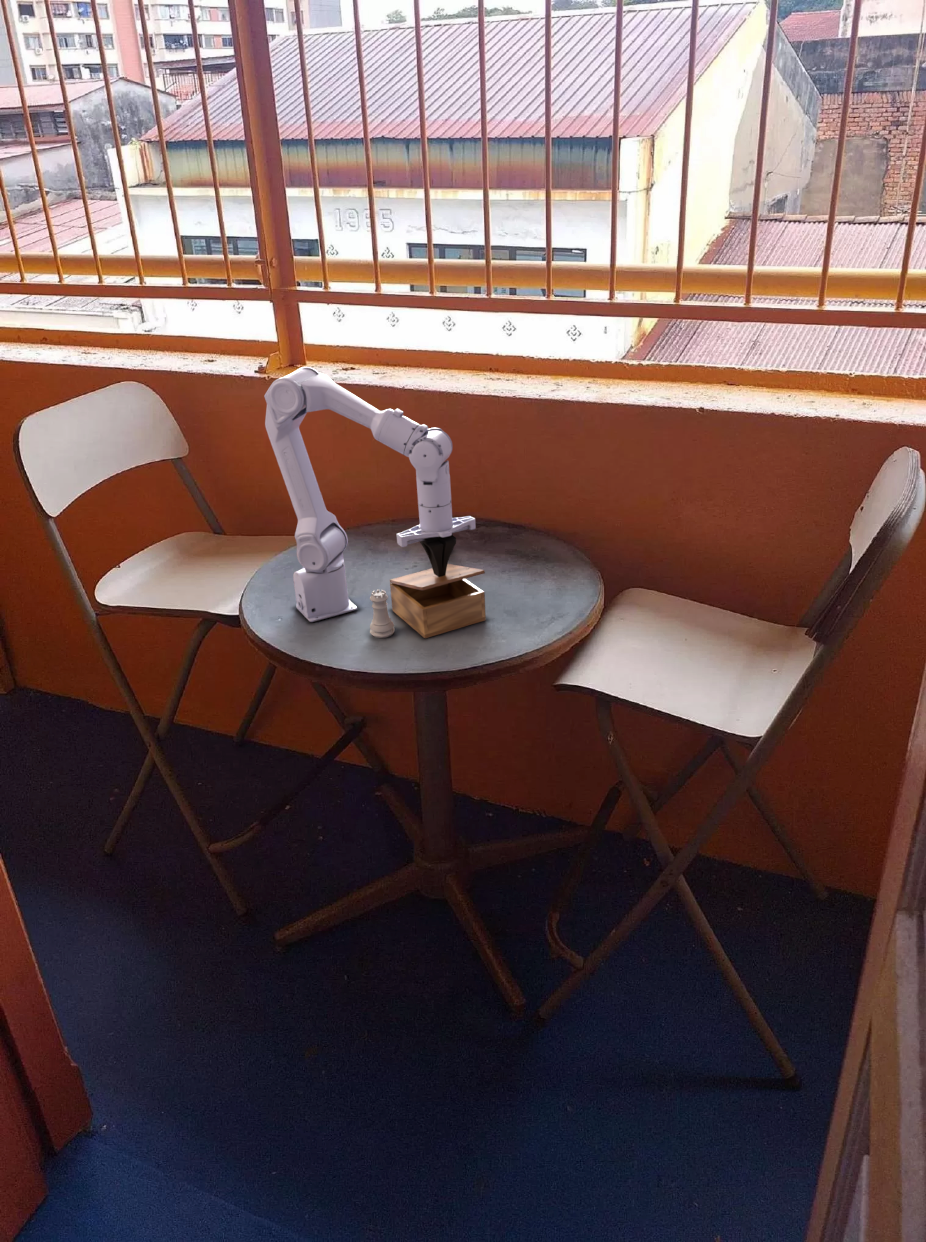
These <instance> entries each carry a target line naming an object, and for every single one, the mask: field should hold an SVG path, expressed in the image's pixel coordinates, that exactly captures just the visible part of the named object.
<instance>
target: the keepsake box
mask: <svg viewBox="0 0 926 1242" xmlns="http://www.w3.org/2000/svg"><path fill="white" fill-rule="evenodd" d="M389 589H390V598H391V610H392V612H393V613H395V615H397V616H398V617H399V618H400V619H402V620H403V621H404V622H405V623H406V624H407V625H409V626H410V627H411V628H412V630H415V631H416V632H417V634H419V635H420V636H421V637H422V638H424V639H428V638H432V637H435V636H438V635H442V634H445V633H448V632H452V631H454V630H458V629H462V628H465V627H468V626H471V625H474V624H478V623H481V622H485V621H486V620H487V619H486V597H485V591H484V590H483V589H481V588H480V587H478V586H477V585H475V584H474V583H473V582H471V581H470V580H468V578H466V579H462V580H459V581H455V582H452V583H448V584H444V585H441V586H437V587H434V588H430V589H426V590H423V591H422V590H418V589H414V588H410V587H406V586H402V585H397V584H393V583H390V582H389Z"/></svg>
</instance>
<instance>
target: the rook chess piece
mask: <svg viewBox="0 0 926 1242" xmlns="http://www.w3.org/2000/svg"><path fill="white" fill-rule="evenodd" d="M388 599H389V595H388V594H387V592H386V590H384V589H381V591H380V589H376V590H373V591H371V594H370V597H369V600H370V601H371V602H372V604H371V607H372V609H373V614H372V615H373V616H372V620H371V623H370V624H369V629H370V630H369V634H370V635H371V636H372V637H374V638H377V639H384V638H385V639H386V638H389V637H391V636H392V635H393V634H394V633H395V631H396V630H395V623H394V622H393V621H392V619H391V617H390V616H389V612H388V606H389V604H388V602H387V600H388Z"/></svg>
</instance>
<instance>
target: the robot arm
mask: <svg viewBox="0 0 926 1242" xmlns="http://www.w3.org/2000/svg"><path fill="white" fill-rule="evenodd" d="M264 399H265V402H266V410H265V420H264V427H265V430H266V432H267V436H268V439H269V442H270V445H271V447H272V450H273V453H274V456H275V458H276V462H277V465H278V467H279V470H280V473H281V475H282V479H283V482H284V484H285V487H286V490H287V493H288V496H289V498H290V501H291V504H292V507H293V510H294V513H295V515H296V519H297V525H296V529H295V532H294V539H295V542H296V558H297V561H298V562H299V564H300V566H301V567H302V568H301V569H299V570H296V571H294V572H293V576H292V581H293V587H294V594H295V601H296V605H295V607H296V609H297V611H299V613H301V614H302V616H304V618H306V620H308V622H310V623H314V622H318V621H321V620H324V619H328V618H332V617H336V616H339V615H343V614H346V613H350V612H354V611H356V610H358V607H357V605H356V604H354V602H352V601H351V600H350V598H349V591H348V582H347V581H348V580H347V574H346V567H345V566H346V565H345V564H346V563H345V559H344V558H345V557H344V551H345V550H346V549H347V547H348V544H349V539H348V534H347V532H346V531H345V530H344V528H343V527H342V526H341V525H340V523H339V521H338V518H337V516H336V515H335V514H333V513H332V512H331V511H328V510H327V507H326V504H325V501H324V499H323V494H322V492H321V490H320V486H319V483H318V481H317V477H316V474H315V472H314V469H313V466H312V463H311V460H310V456H309V454H308V450H307V447H306V445H305V442H304V439H303V435H302V433H301V430H300V426H301V424H302V422H303V420H304V419H305V417H306V415H307V414H308V413H312V412H319V411H324V410H330V411H332V412H334V413H336V414H337V415H340V416H343V417H345V418H347V419H349V420H351V421H353V422H355V423H357V424H360V425H361V426H364V427H366V428H368V429H369V430H370V431H371V434H372V436H373V439H374V440H376V441H377V442H379V443H381V444H383V445H384V446H387V447H388V448H390V449H392V450H394V451H395V452H397V453H399V454H401V455H403V456H405V457H406V458H408V459H409V462H410V464H411V466H413V468H414V469H415V476H416V477H415V480H416V489H417V490H416V493H417V494H416V495H417V505H418V506H417V507H418V508H417V509H418V517H419V519H418V520H419V524H417V525H415V526H413V527H411V528H408V529H406V530H403V531H402V532H398V533H396V544H397V545H398V546H400V547H401V548H406V547H408V545H411V544H415V543H418V542H419V543H420V545H421V546H422V548H423V550H424V551H425V553H426V555H427V557H428V559H429V562H430V565H431V568H433V572H434V574H435V575H437V576H438V577H441V576H445V575H446V569H447V564H449V560H450V557H451V555H452V552H453V550H454V548H455V546H456V544H457V537H456V536H454V533H458V532H462V531H463V532H464V531H466V530H470V531H471V530H476V529H477V527H476V525H477V524H476V518H475V517H473V516H471V515H465V516H459V517H453V505H452V488H451V475H450V460H448V459H449V458H450V456H451V454H452V452H453V448H454V447H453V441H452V439H451V437H450V435H449V434H448V433H447V432H445V431H444V430H443V429H442V428H440V427H431V428H429V426H428V425H426V424H425V423H423V424H420V423H418V422H416V421H414V420H412V419H411V418H409V417H407V416H405V415H404V411H403V410H401V409H400V408H396V409H392V408H386V409H384V410H380V409H378V408H376V407H375V406H373V405H372V404H370V403H368V402H367V401H365V400H363V399H362V398H360V397H358V396H357V395H356V394H354V393H352V392H351V391H349V390H348V389H346V388H344V387H343V386H341V385H339V384H338V383H336V382H335V381H334V380H333V379H332V378H331V377H330V376H329V375H328V374H326V373H323V372H319V371H318V370H317V369H315V368H313V367H310V366H302V367H299V368H297V369H296V370H294V371H293V372H291V373H289V374H287V375H284V376H283V377H279V378H276V379H275V380H273V382H272V383H271V384H270V386H269V387H268V389H267V391H266V392H265V394H264Z"/></svg>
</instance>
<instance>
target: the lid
mask: <svg viewBox="0 0 926 1242" xmlns="http://www.w3.org/2000/svg"><path fill="white" fill-rule="evenodd" d="M485 573H486V572H485V570H484V569H481V568H476V567H475V568H474V567H469V566H462V565H456V564H451V563H448V564H447V569H446V575H445V576H441V577H438V576H437V575H435V574H434V572H433V568H432V567H431V568H427V569H424V570H421V571H417V572H413V573H409V574H405V575H401V576H398V577H394V578H391V579H389V584H390V583H393V584H397V585H402V586H406V587H410V588H414V589H418V590H422V591H423V590H426V589H430V588H434V587H437V586H441V585H444V584H448V583H452V582H455V581H459V580H462V579H469V578H473V577H476V576H481V575H484V574H485Z"/></svg>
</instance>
